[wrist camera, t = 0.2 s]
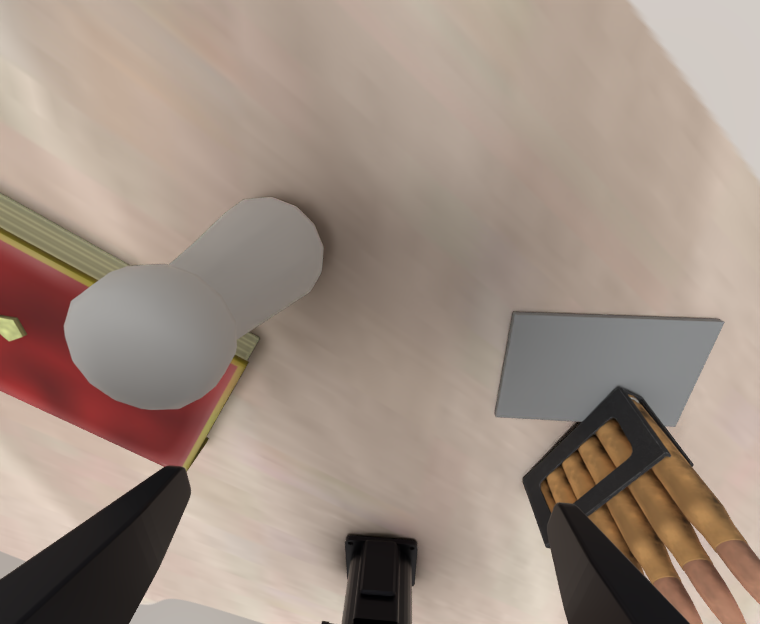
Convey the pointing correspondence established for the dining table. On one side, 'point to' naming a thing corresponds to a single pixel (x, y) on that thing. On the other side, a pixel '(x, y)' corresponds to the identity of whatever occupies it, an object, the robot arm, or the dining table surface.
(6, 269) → the hardcover book
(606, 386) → the mat
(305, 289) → the salt shaker
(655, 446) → the ammunition clip
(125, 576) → the robot arm
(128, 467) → the dining table surface
